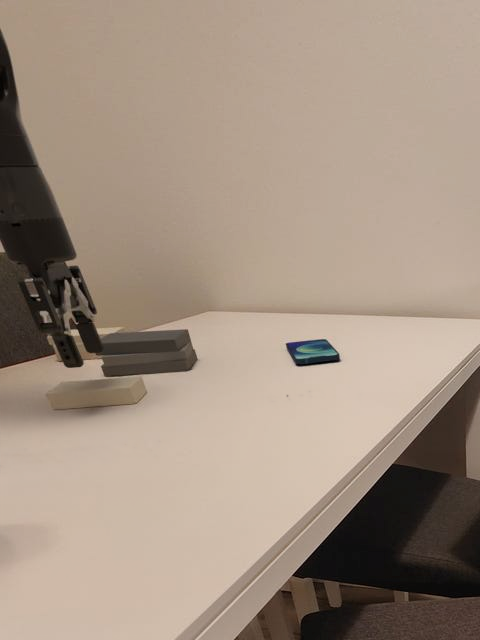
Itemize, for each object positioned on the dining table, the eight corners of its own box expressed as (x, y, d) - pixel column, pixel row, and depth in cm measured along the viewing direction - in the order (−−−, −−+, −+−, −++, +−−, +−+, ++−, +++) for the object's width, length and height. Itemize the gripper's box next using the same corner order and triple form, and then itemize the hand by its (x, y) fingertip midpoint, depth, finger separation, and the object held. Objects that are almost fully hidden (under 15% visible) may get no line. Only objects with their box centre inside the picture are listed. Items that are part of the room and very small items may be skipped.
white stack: (55, 362, 104) (44, 337, 102) (68, 353, 109) (59, 330, 107) (124, 357, 106) (115, 333, 103) (134, 349, 111) (126, 326, 109)
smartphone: (326, 338, 110) (340, 354, 99) (326, 343, 110) (341, 360, 99) (284, 342, 108) (294, 359, 97) (286, 348, 108) (296, 365, 97)
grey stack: (101, 377, 95) (88, 345, 92) (118, 363, 102) (107, 333, 99) (189, 371, 97) (179, 339, 94) (200, 358, 104) (191, 328, 101)
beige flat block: (53, 409, 82) (45, 393, 80) (68, 397, 86) (61, 381, 85) (136, 403, 83) (130, 387, 82) (147, 391, 88) (141, 376, 86)
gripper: (17, 214, 76) (75, 350, 86) (-37, 220, 65) (36, 374, 75) (79, 211, 77) (129, 346, 87) (35, 216, 66) (98, 370, 76)
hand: (86, 359), depth 81 cm, fingers open, 8 cm apart
